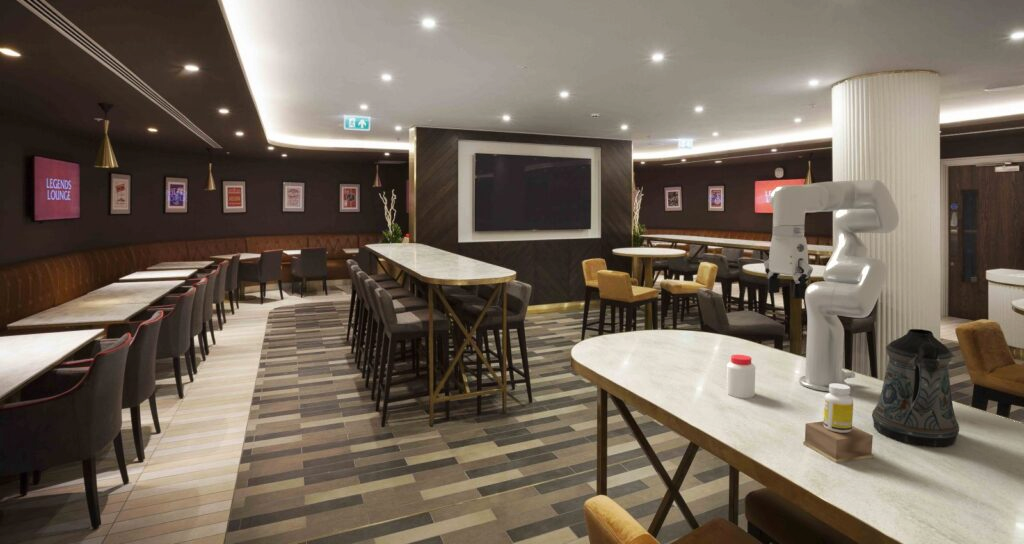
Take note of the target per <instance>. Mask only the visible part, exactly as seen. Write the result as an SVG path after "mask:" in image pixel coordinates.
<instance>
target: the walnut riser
mask: <svg viewBox="0 0 1024 544" xmlns="http://www.w3.org/2000/svg"><path fill="white" fill-rule="evenodd" d="M804 427H805V428H804V440H803V442H802V443H803V445H805V446H806V447H807V448H809V449H811V450H813V451H815V452H816V453H818V454H819V455H822V456H823V457H825V458H827V459H828V460H830V461H832V462H834V464H837V463H842V462H843V463H844V462H850V461H851V462H852V461H859V460H865V459H867V460H868V459H873V458H874V454H872V453H873V440H874V438H873V437H874V435H873V434H871V433H869V432H866V431H865V430H862V429H860V428H859V427H856V426H854V425H852V430H851V431H850V432H848V433H839V432H834V431H830V430H828V429H826V428H825V427H824V420H823V421H816V422H806V423H805V426H804Z"/></svg>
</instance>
